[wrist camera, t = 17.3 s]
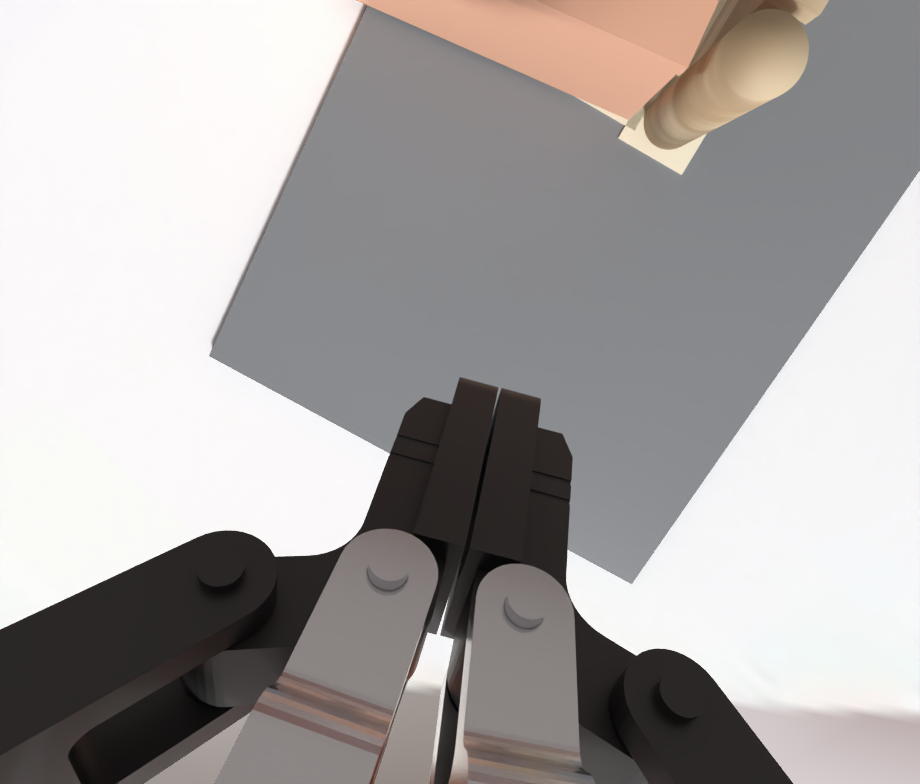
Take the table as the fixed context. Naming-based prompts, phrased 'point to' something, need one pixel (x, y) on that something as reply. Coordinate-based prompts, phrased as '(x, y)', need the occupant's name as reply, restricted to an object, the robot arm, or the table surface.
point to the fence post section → (734, 69)
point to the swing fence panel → (573, 40)
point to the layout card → (573, 253)
